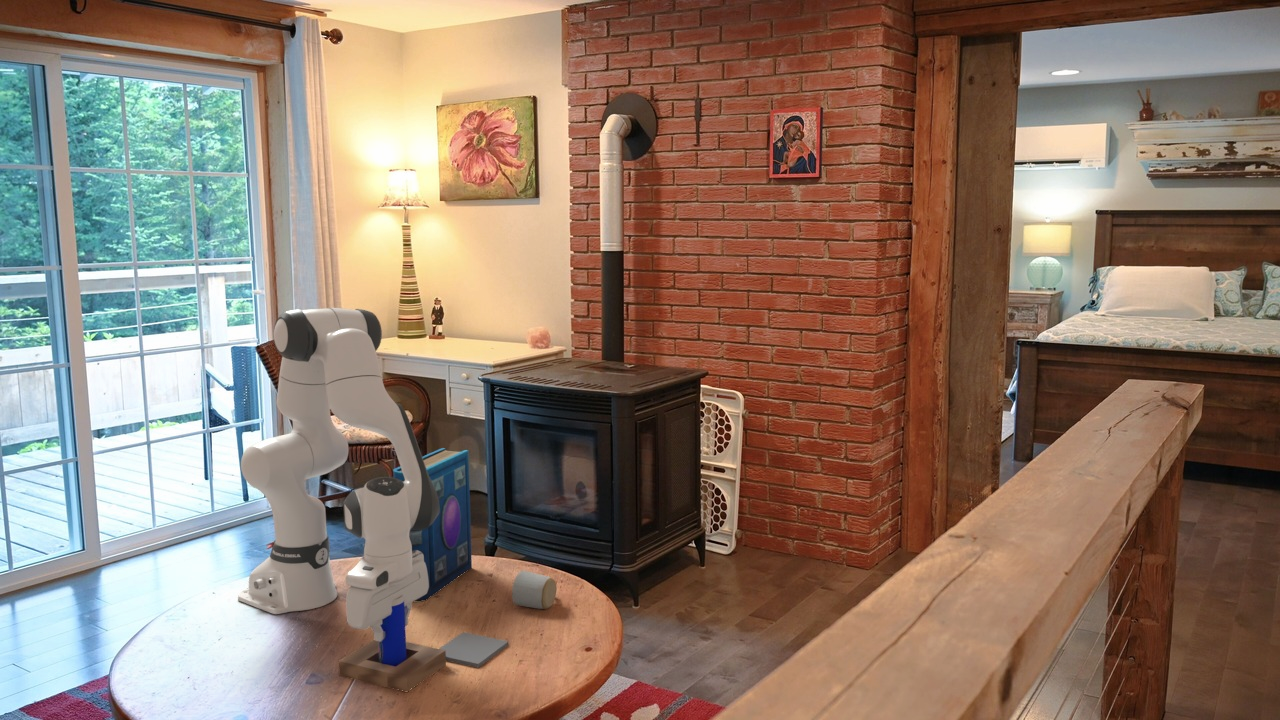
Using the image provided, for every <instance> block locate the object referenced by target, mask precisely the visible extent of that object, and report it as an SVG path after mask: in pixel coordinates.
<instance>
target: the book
mask: <svg viewBox="0 0 1280 720" xmlns="http://www.w3.org/2000/svg"><path fill="white" fill-rule="evenodd" d="M422 458H423V461H424V464H425V467H426V469H427V472H428V475H429V477H430V479H431V481H432V483H433V485H434V488H435V490H436V493H437V495H438V499H439V505H440V512H439V515H438V516H437V518H436V519H435V521H434V522H433V523H432V524H431V525H430V526H429V527H428V528H427V529H425V530H412V531H410V532H409V538H410V541H411V544H412V552H413V551H414V550H418V551H420V552H422V554H423V555H424V562H425V564H426V567H427V573H428V581H429V589H428V592H427V594H425V595H424V596H422V597H420V598H418V599H417V600H415V601H421V602H423V601H422V600H425V601H427V600H429V599H430V598H431V597H430V596H432V595H433V594H434V595H436V594H437V593H439V592H440V591H441V590H443V589H444V588H445V587H444V586H446V585H447V584H449V583H450V582H451V581H453V580H454V579H456V578H457V577H458V576H460V575H461V574H463V573H464V572H466V571H467V570H468V571H470V570H471V569H472V567H473V566H472V564H473V563H472V561H473V560H472V529H471V526H472V525H471V499H470V498H471V497H470V495H471V494H470V492H471V490H470V463H469V462H470V461H469V459H470V458H469V450H467V449H465V450H462V451H451V450H446V448H444V447H442V448H439V449H437V450H435V451H433V452H430V453H428V454H426V455H424V456H423V455H422ZM392 471H393V478H397V479H399V480H401V481H403V482H404V481H405V478H404V475H403V472H402V469H401V466H400V465H399V466H398V467H396V468H393V469H392ZM469 569H470V570H469ZM468 571H467V572H468ZM467 572H466V573H467ZM464 574H465V573H464ZM464 574H463V575H464ZM461 576H462V575H461ZM461 576H460V577H461ZM458 578H459V577H458ZM458 578H457V579H458ZM457 579H456V580H457ZM454 581H455V580H454ZM454 581H453V582H454ZM451 583H452V582H451ZM451 583H450V584H451ZM450 584H449V585H450ZM447 586H448V585H447ZM447 586H446V587H447ZM443 587H444V588H443ZM442 588H443V589H442ZM440 589H441V590H440ZM439 590H440V591H439ZM438 591H439V592H438ZM436 592H437V593H436ZM435 593H436V594H435ZM434 595H433V596H434ZM433 596H432V597H433ZM429 597H430V598H429ZM428 598H429V599H428ZM426 599H427V600H426Z"/></svg>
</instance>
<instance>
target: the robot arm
mask: <svg viewBox="0 0 1280 720" xmlns="http://www.w3.org/2000/svg"><path fill="white" fill-rule="evenodd" d="M273 327H274V328H273V342H274V346H275V349H276V352H278V353H279V355H281V356H282V358H281V363H280V368H279V369H280V370H279V375H278V376H279V377H278V383H277V396H276V407H277V409H278V411H279V412H280V414H282V415H283V416H284V417H285V418H287V419H289V420H290V421H292V429H291V431H290V432H289V433H286V434H283V435H281V434H280V435H277V436H273V437H269V438H265V439H263V440H261V441H259V442H257V443H254V444H253V445H251V446H249V447H247V448H246V449H245V450H244V452H243V454H242V456H241V460H240V468H241V469H240V470H241V474H242V476H243V479H244V480H245V481H246V483H247V484H249V485H250V486H251V487H252V488H254V489H257V490H258V491H259V492H260V493H262V494H263V495H264V496H265V498H266V500H267V501H268V504H269V506H270V508H271V512H272V517H273V526H274V527H273V528H274V529H273V530H274V537H275V538H274V539H275V540H274V541H273V542H270V543H267V544H266V545H265V546H267V547H266V550H269V549H271V550H270V553H269V556H268V557H267V558H266V559H265V560H264V561H262V562H261V563H260V564H258V565H257V566H256V567H255V568H254V569H253V570H252V571H251V573H250V574H249V579H248V588H245V589H243V590H242V591H241V592H240V593H238V597H237V601H239V602H242V603H244V604H247V605H250V606H252V607H255V608H257V609H259V610H261V611H265V612H267V613H270V614H273V615H281V614H285V613H289V612H290V613H291V612H299V611H300V612H301V611H309V610H312V609H315V608H316V609H317V608H320V607H323V606H326V605H328V604H330V603H332V602H333V601H335V600H336V598H337V597H338V592H337V589H336V582H335V580H334V577H333V571H332V570H333V569H332V564H331V559H330V550H331V549H330V544H331V543H330V539H329V535H327V515H326V514H327V513H326V506H325V505H324V503H323V501H322V500H320V499H319V498H317V497H316V496H314V495H311V494H308V491H307V489H306V480H309V479H312V478H316V477H320V476H323V475H327V474H328V473H330V472H332V471H334V470H336V469H337V468H340V467H342V466H343V465H344V464H345V463H346V461H347V459H348V458H349V457H348V456H349V453H350V452H349V443H348V440H347V438H346V436H345V435H344V434H343V432H342V431H341V430H340V429H338V428H337V427H336V426H335V425H334V423H333V420H332V416H331V413H332V414H333V415H334V416H335V417H336V418H337V419H338V420H340V421H341V422H342V423H344V424H346V425H348V426H350V427H353V428H356V429H360V430H365V431H370V432H372V433H375V434H379V435H381V436H383V437H384V438H386V439H387V440H389V441H390V443H391V444H392V447H393V449H394V451H395V454H396V456H397V461H398V464H399V467H400V466H401V469H402V472H403V475H404V478H405V481H404V482H403V481H401V480H399V479H397V478H394V476H392V477H391V476H380V477H375V478H372V479H371V480H369V481H367V482H366V483H365V484H364V485H363V487H359V488H357V489H356V488H355V489H354V490H352V491H350V492H349V493H348V495H347V496H346V497H345V499H344V501H343V503H342V505H343V506H342V508H343V524H344V525H343V526H344V529H345V530H346V531H348V532H349V533H350V534H352V535H353V536H354V537H357V538H359V539H361V538H362V539H364V541H365V542H364V543H365V544H364V549H363V556H362V557H361V558H360V559H359V561H357V564H355V565H354V566H353V567H352V569H351V570H349V572H347V573H346V575H345V584H346V585H347V586H349V588H348V589H347V592H346V597H345V598H346V599H345V602H346V603H345V606H346V607H345V608H346V620H347V624H348V625H349V626H350V627H351V628H353V629H358V630H362V631H363V630H367V629H369V628H370V630H371V631H372V632H373V640H375V641H379V642H381V641H382V640H384V639H385V638H386V630H382V628H381V626H380V625H381V624H382V619H384V618H386V617H388V616H389V615H391V613H392V602H393V600H395V599H398V598H399V597H401V596H402V595H403V598H404V607H405V627H407V626H408V625H409V616H410V614H411V610H412V607H413V604H412V603H414V602H413V601H415V600H417V599H418V598H420V597H422V596H424V595H425V594H427V592H428V589H429V581H428V573H427V567H426V564H425V562H424V555H423V554H422V552H420V551H418V550H414V551H413V552H412V544H411V541H410V538H409V532H410V531H412V530H425V529H427V528H428V527H429V526H430V525H431V524H432V523H433V522H434V521H435V519H436V518H437V516H438V515H439V512H440V505H439V499H438V495H437V493H436V490H435V488H434V485H433V483H432V481H431V479H430V477H429V475H428V472H427V469H426V467H425V464H424V461H423V458H422V457H423V455H422V452H421V450H420V446H419V444H418V441H417V438H416V436H415V432H414V428H413V427H412V424H411V422H410V419H409V416H408V415H407V412H406V411H405V410H406V409H405V408H404V407H403V406H402V404H401V403H397V402H396V401H394V400H393V399H392V397H391V396H390V394H389V393H388V392H387V391H388V390H386V388H385V385H384V382H383V376H382V375H383V374H382V371H381V365H380V361H379V357H378V354H377V351H378V349H379V347H380V345H381V343H382V335H383V330H382V326H381V323H380V321H379V318H378V317H377V315H376V314H375V313H374V312H372V311H369V310H366V309H361V308H355V309H353V308H352V309H351V308H342V307H341V308H340V307H327V308H312V309H311V308H310V309H300V308H299V309H297V308H296V309H291V310H287V311H285V312H281V314H279V316H278V317H277V319H276V321H275V323H274V326H273Z"/></svg>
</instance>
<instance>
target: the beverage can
mask: <svg viewBox="0 0 1280 720" xmlns="http://www.w3.org/2000/svg"><path fill="white" fill-rule="evenodd" d="M380 626H381V628H382V630H386V638H385V639H384V640H382V641H381V642H379V641H378V651H379V663H382V664H386V665H391V666H395V667H396V666H398V665H399V664H401V663H402V662H404V661H405V660H407V657H406V642H407V637H406V636H407V635H406V633H407V631H406V626H405V607H404V598H403V595H402V596H401V597H399V598H398V599H395V600H393V602H392V613H391V615H389V616H388V617H386V618H384V619H382V624H381V625H380Z"/></svg>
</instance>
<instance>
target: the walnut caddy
mask: <svg viewBox="0 0 1280 720" xmlns="http://www.w3.org/2000/svg"><path fill="white" fill-rule="evenodd" d="M406 657H407V660H405V661H404V662H402V663H401V664H399V665H398V666H396V667H395V666H391V665H386V664H382V663H379V651H378V641H375V640H374V639H372V640H371V641H370V642H368V643H366V644H364V645H362V646H361V647H359V648H358V649H356V650H355V651H352V652H351V653H350V654H348V655H346V656H344V657H342V658H341V659H339V660H338V676H339V677H343V678H347V679H350V680H355V681H359V682H364V683H367V684H372V685H374V686H375V685H376V686H380V687H385V688H387V687H388V688H389V689H392V688H394V689H393V690H396V689H399V690H398V691H400V690H403V691H402V692H404V691H409V690H410V689H411V688H413V687H414V686H416V685H417V684H419V683H420V682H421V683H422V681H423V680H424V681H426V680H427V679H428V678H430V677H431V676H433V675H434V674H435V673H437V672H438V671H440V670H441V669H443V668H444V667H445V666H446V665H447V661H446V650H442V649H439V648H436V647H432V646H428V645H422V644H417V643H413V642H409V641H406ZM439 669H440V670H439ZM436 671H437V672H436ZM432 674H433V675H432ZM429 676H430V677H429ZM426 678H427V679H426ZM425 679H426V680H425ZM424 681H423V682H424ZM421 683H420V684H421ZM420 684H419V685H420ZM417 686H418V685H417ZM417 686H416V687H417ZM414 688H415V687H414ZM414 688H413V689H414ZM411 690H412V689H411ZM411 690H410V691H411ZM410 691H409V692H410Z"/></svg>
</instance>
